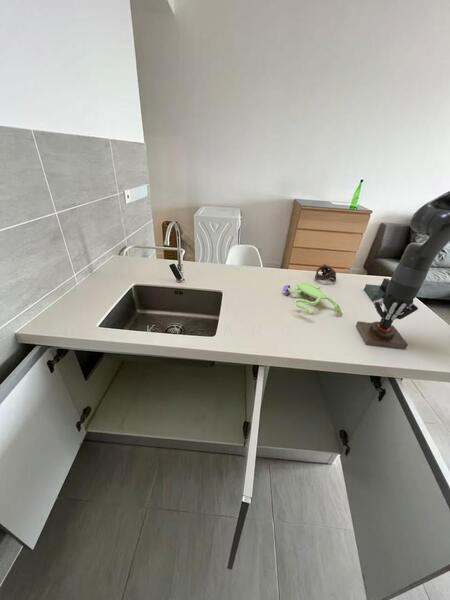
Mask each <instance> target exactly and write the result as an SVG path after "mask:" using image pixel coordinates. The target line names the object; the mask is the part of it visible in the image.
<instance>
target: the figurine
mask: <svg viewBox="0 0 450 600" xmlns="http://www.w3.org/2000/svg"><path fill="white" fill-rule="evenodd" d="M296 287H297V288H298V290H297V289H296V290H295V289H291V285H289V284H286V285H284V286H283V287H282V293H283V294H284V295H285V296H289V295H290V293H292V294H301V293H303V296H306V295H308V296H309V299H310V300H311V301H310V300H308V299H305V298H297V299H295V306H296V308H299V309H303V310H305V311H306V312H307V313H308V314H310V315H311V316H312V315H313V314H314V312H313V310H312V309H311V308H309V307H308V306H306V305H304V304H307V305H312V306H313V305H314V306H315V305H317V304H318V303H319V302H320V301H321V300H326V301H329V302H330V304H332V305H333V308H334V310H335V311H336V312H337V313H338V315H339V316H343V312H342V310H341V307H340V305H339V304H338V303H337V302H336V301H335V300H334V299H332V298H331V297H329V296H328V295H326V294H325V293H324V292H322V291H321V290H320V289H321V286H316V285H314V284H311V283H310V282H309V283H308V282H307V281H303V282H298V283H296ZM313 298H315V299H316V300H315V301H313V300H314V299H313ZM299 303H304V304H303V305H302V304H299Z"/></svg>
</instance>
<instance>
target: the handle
mask: <svg viewBox="0 0 450 600" xmlns="http://www.w3.org/2000/svg"><path fill="white" fill-rule="evenodd" d="M390 280H391V279H389V278H385V277H384V278H383V279H382V282H381V284H380V285H381V286H380V288H381V289H382V290H383V291H384V293H386V289H387V286H388V284H389V282H390Z"/></svg>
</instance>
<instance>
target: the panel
mask: <svg viewBox="0 0 450 600" xmlns="http://www.w3.org/2000/svg"><path fill="white" fill-rule="evenodd" d="M380 286H381V284H380V285H377V284H369V283H365V286H364V288H363V291H364V292H365V294H366V295H367V296H368V298H369V299H370V301H372V300H373V299H376V300H378V299H381V298H382V296H383V295H384V294H385V293H384V291H383V290H382V289H381V288H380Z"/></svg>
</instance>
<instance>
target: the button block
mask: <svg viewBox="0 0 450 600" xmlns="http://www.w3.org/2000/svg"><path fill="white" fill-rule="evenodd" d="M379 323H380V321H372V322H366V321H358V320H357V322H356V324H355V328H356V330H357V332H358V334H359V336H360V337H361V339H362V341H363V343H364V345H365V346H369V347H370V346H371V347H378V348H379V347H380V348H388V349H394V350H395V349H396V350H403V351H405V350H407V347H408V343H407V341H406V339H404V337H403V336H402V334H401V333H400V331H398V329H397V328H396V327H395V326H394V325H393V324H391V326H390V327H389V328H390V329H391V330H390V332H389V333H388V332H383V331H380V330H379V329H377V328H376V326H377V324H379Z"/></svg>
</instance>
